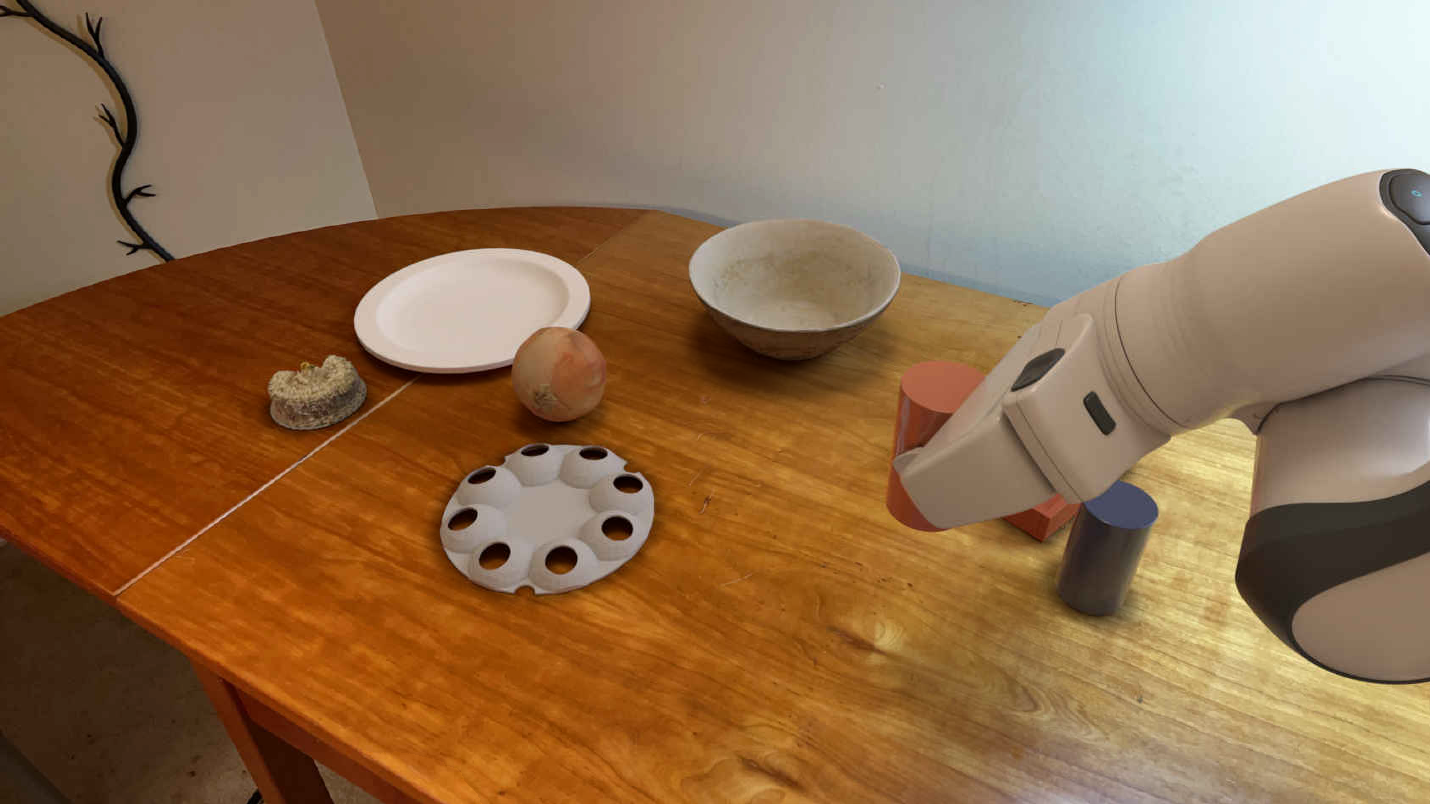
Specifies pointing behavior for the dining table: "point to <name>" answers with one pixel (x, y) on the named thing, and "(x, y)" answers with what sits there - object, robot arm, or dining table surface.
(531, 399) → the onion
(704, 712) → the dining table surface
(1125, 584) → the slate-blue canister
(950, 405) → the terracotta canister
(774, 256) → the bowl
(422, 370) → the plate
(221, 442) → the dining table surface
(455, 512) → the grey disc with holes
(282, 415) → the cake
